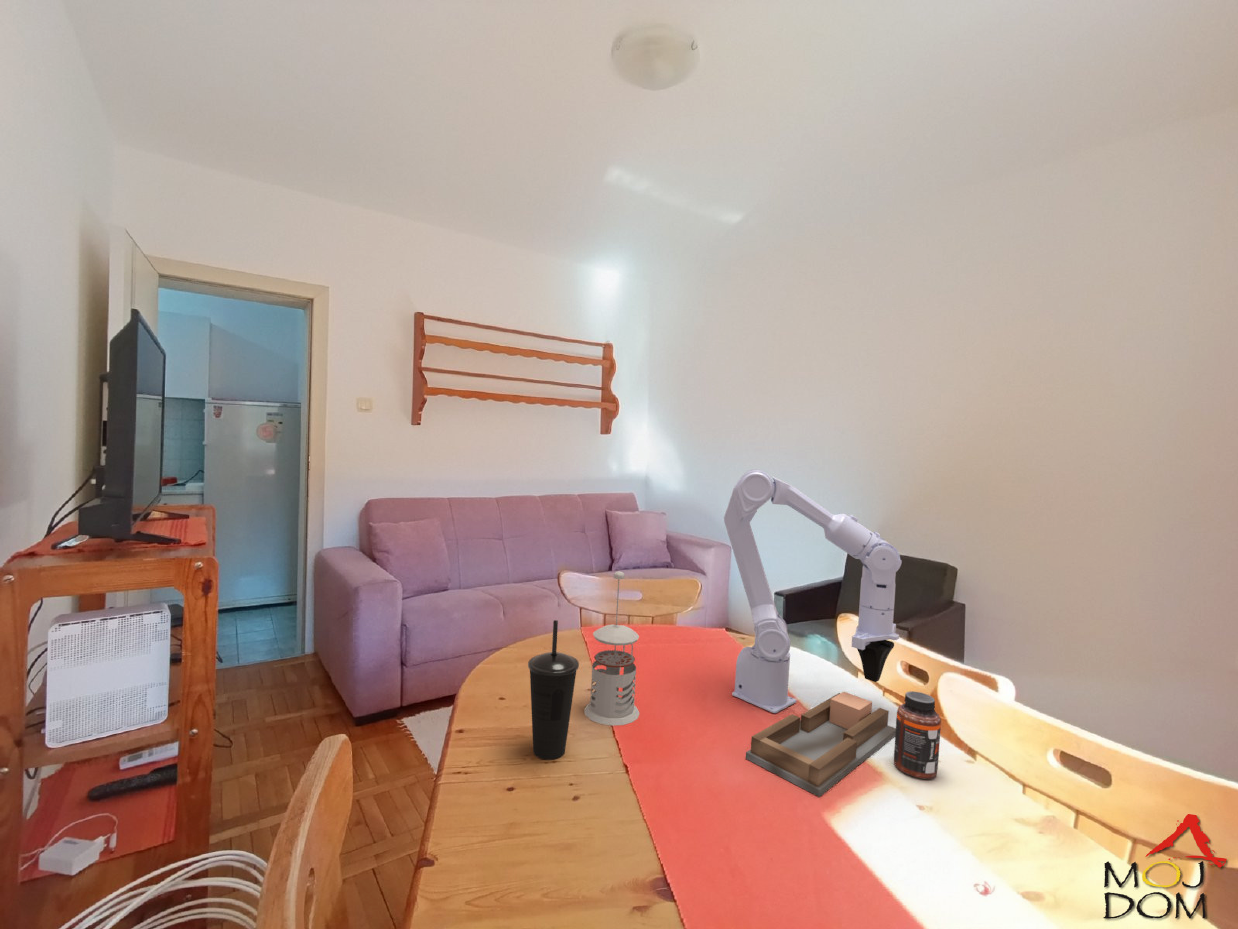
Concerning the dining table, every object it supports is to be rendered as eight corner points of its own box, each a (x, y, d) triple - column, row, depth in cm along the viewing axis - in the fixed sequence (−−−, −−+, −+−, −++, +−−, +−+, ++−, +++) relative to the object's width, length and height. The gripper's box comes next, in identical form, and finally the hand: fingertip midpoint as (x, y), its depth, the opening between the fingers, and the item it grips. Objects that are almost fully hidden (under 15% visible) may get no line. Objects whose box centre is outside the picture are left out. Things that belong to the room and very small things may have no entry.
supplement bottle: (943, 784, 82) (949, 708, 81) (899, 777, 83) (904, 702, 82) (929, 762, 88) (934, 691, 87) (888, 756, 89) (893, 685, 88)
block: (829, 721, 97) (830, 699, 97) (842, 713, 100) (843, 691, 100) (857, 733, 93) (859, 710, 93) (870, 724, 96) (872, 701, 96)
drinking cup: (583, 746, 87) (589, 619, 86) (557, 771, 80) (564, 632, 79) (541, 733, 90) (547, 610, 89) (513, 756, 83) (519, 623, 82)
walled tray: (745, 758, 86) (746, 736, 86) (829, 708, 104) (831, 689, 104) (819, 797, 77) (820, 772, 77) (896, 734, 96) (898, 714, 96)
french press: (574, 717, 96) (581, 572, 95) (601, 691, 107) (608, 561, 106) (627, 731, 92) (635, 581, 91) (650, 702, 103) (657, 568, 102)
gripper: (882, 618, 94) (877, 698, 94) (914, 604, 104) (909, 677, 104) (842, 608, 99) (837, 683, 99) (875, 596, 109) (871, 665, 109)
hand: (871, 679), depth 102 cm, fingers closed
